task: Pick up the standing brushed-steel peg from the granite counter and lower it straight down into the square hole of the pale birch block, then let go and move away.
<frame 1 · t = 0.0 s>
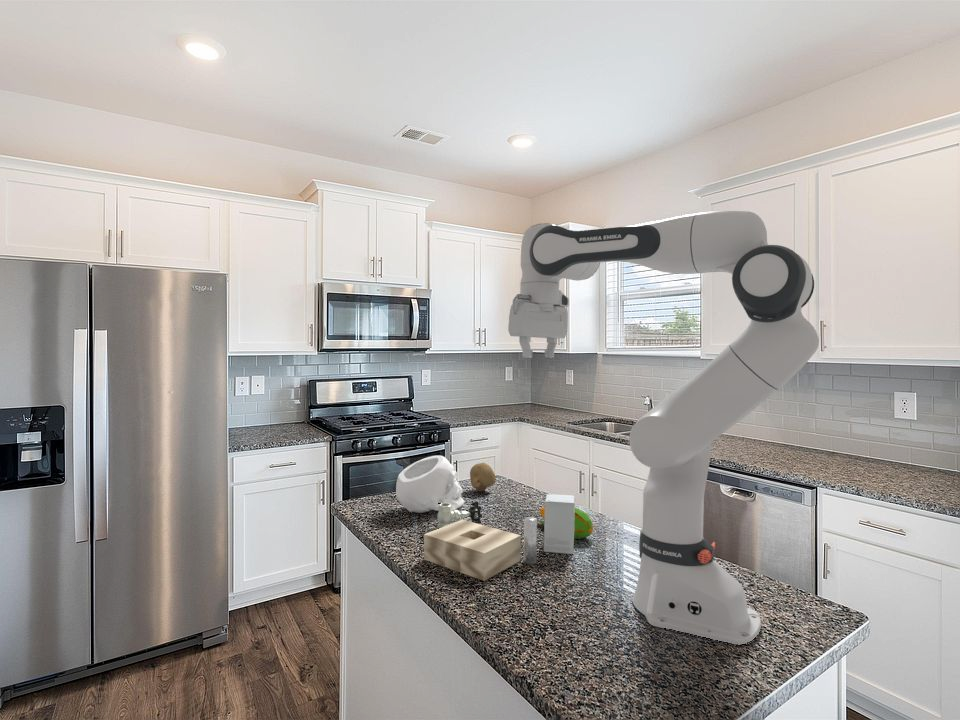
hand: (538, 357, 119), 48 cm above the counter, tool pointing down, fingers open, 8 cm apart
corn: (562, 532, 143), on the counter
hole block: (472, 560, 123), on the counter
valve: (457, 527, 147), on the counter
potato: (482, 491, 183), on the counter
supplement box: (559, 548, 131), on the counter
skull planter: (431, 510, 161), on the counter
steel peg: (530, 561, 123), on the counter
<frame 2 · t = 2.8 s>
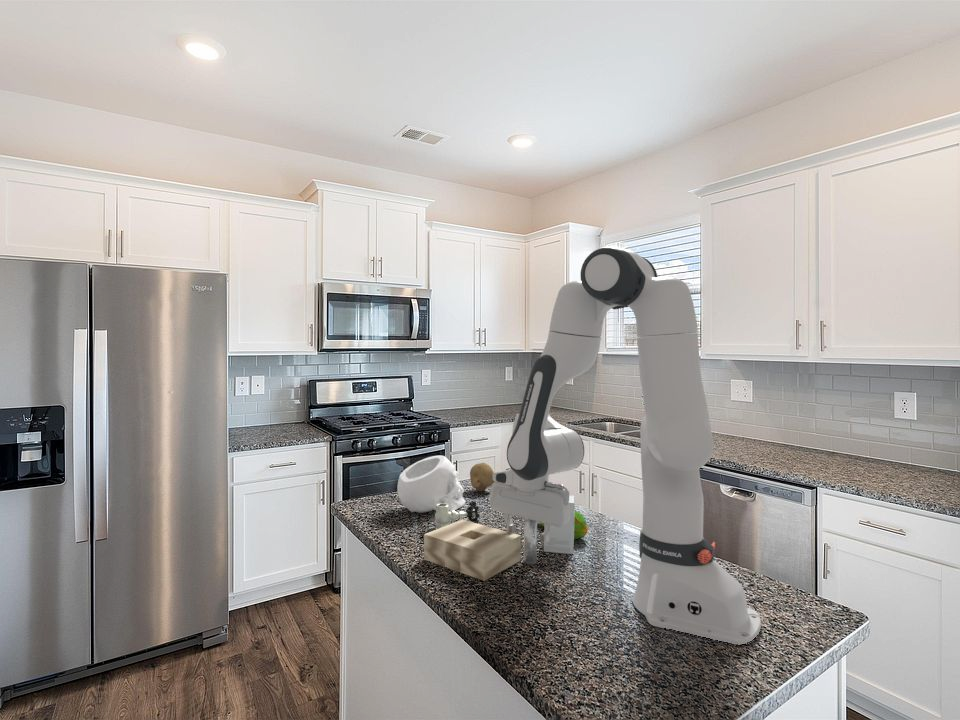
hand: (527, 536, 123), 6 cm above the counter, tool pointing down, fingers open, 8 cm apart
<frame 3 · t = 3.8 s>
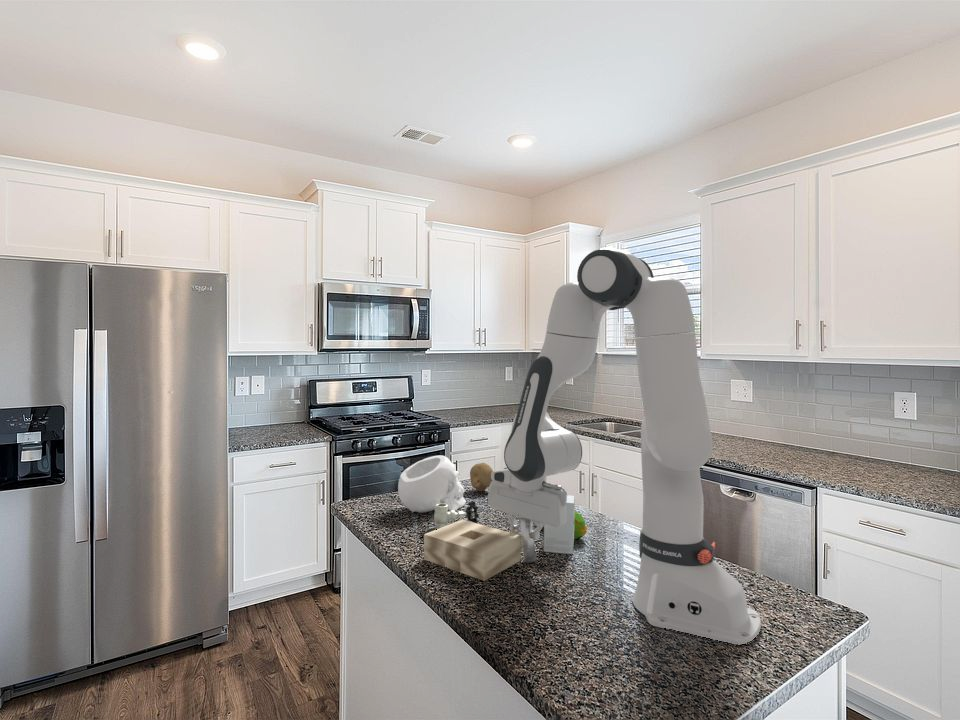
hand: (524, 535, 123), 6 cm above the counter, tool pointing down, fingers open, 4 cm apart
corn: (558, 533, 143), on the counter, touching supplement box
supplement box: (559, 548, 131), on the counter, touching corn
steel peg: (530, 560, 123), on the counter, tilted 10°, touching gripper
everything else where it was.
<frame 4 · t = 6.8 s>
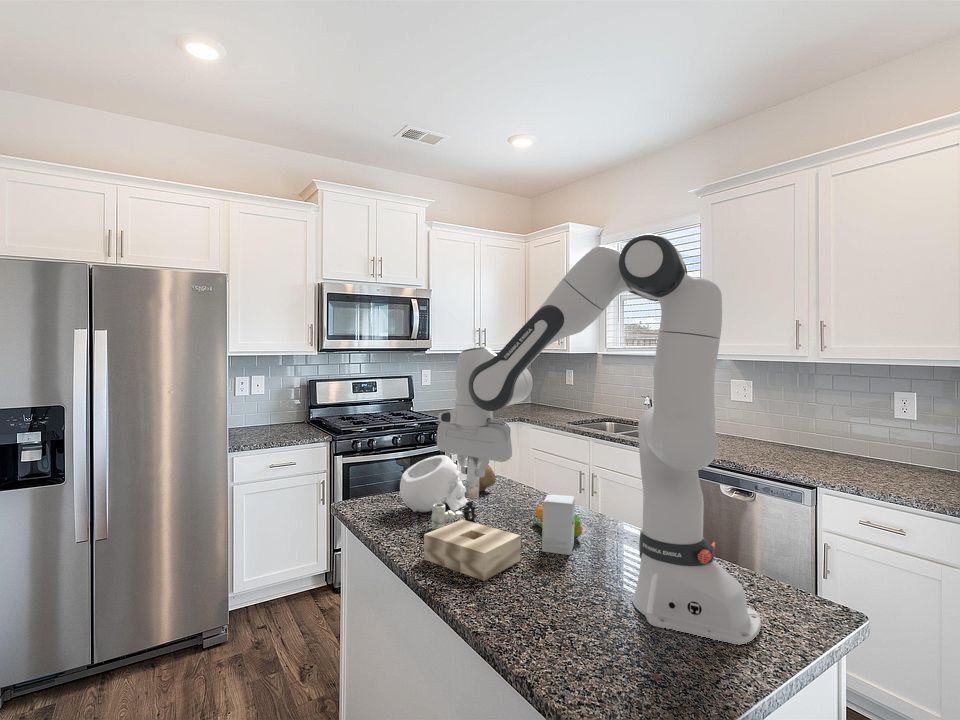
hand: (472, 475, 123), 20 cm above the counter, tool pointing down, fingers closed on steel peg, 3 cm apart
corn: (555, 533, 143), on the counter
supplement box: (558, 549, 131), on the counter
steel peg: (472, 496, 123), point 15 cm above the counter, touching gripper
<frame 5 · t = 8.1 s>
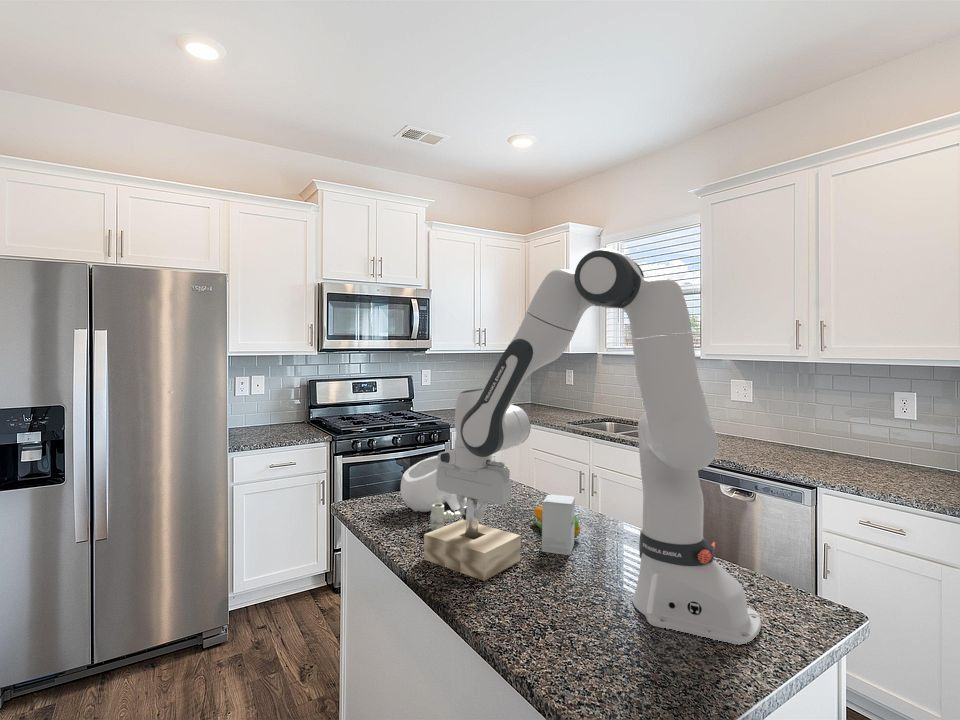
hand: (472, 515, 123), 11 cm above the counter, tool pointing down, fingers closed on steel peg, 3 cm apart
steel peg: (471, 537, 123), point 5 cm above the counter, touching gripper
when the fingers open (8 cm above the counter, at t = 9.3 s): steel peg drops 2 cm, resting in hole block.
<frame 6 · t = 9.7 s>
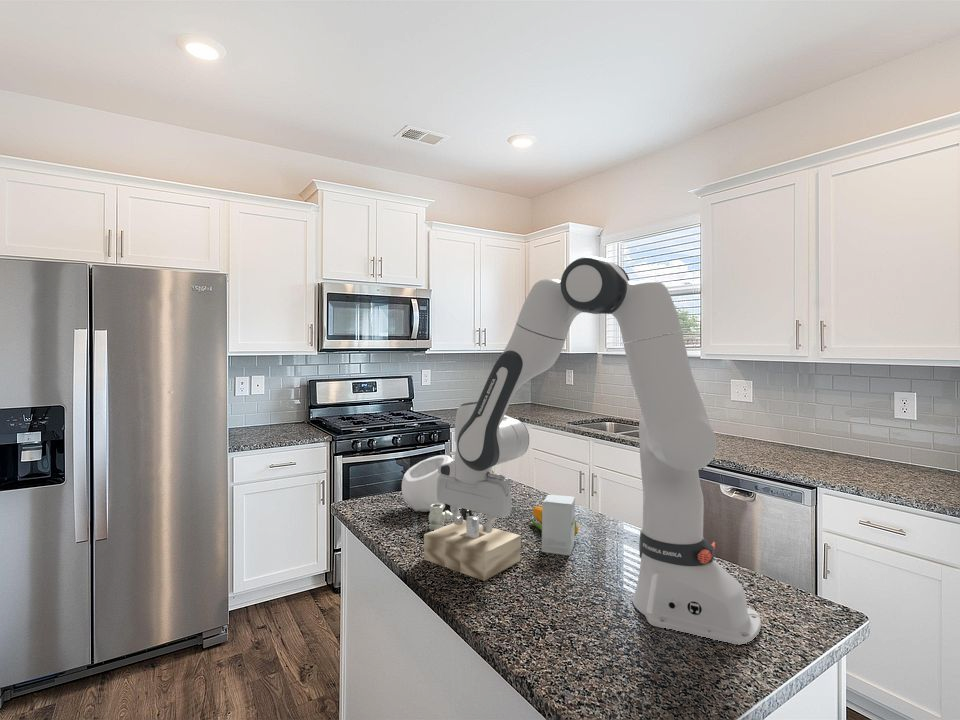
hand: (472, 528, 123), 8 cm above the counter, tool pointing down, fingers open, 7 cm apart
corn: (551, 533, 143), on the counter, touching supplement box
supplement box: (558, 549, 131), on the counter, touching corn
steel peg: (472, 560, 123), resting in hole block
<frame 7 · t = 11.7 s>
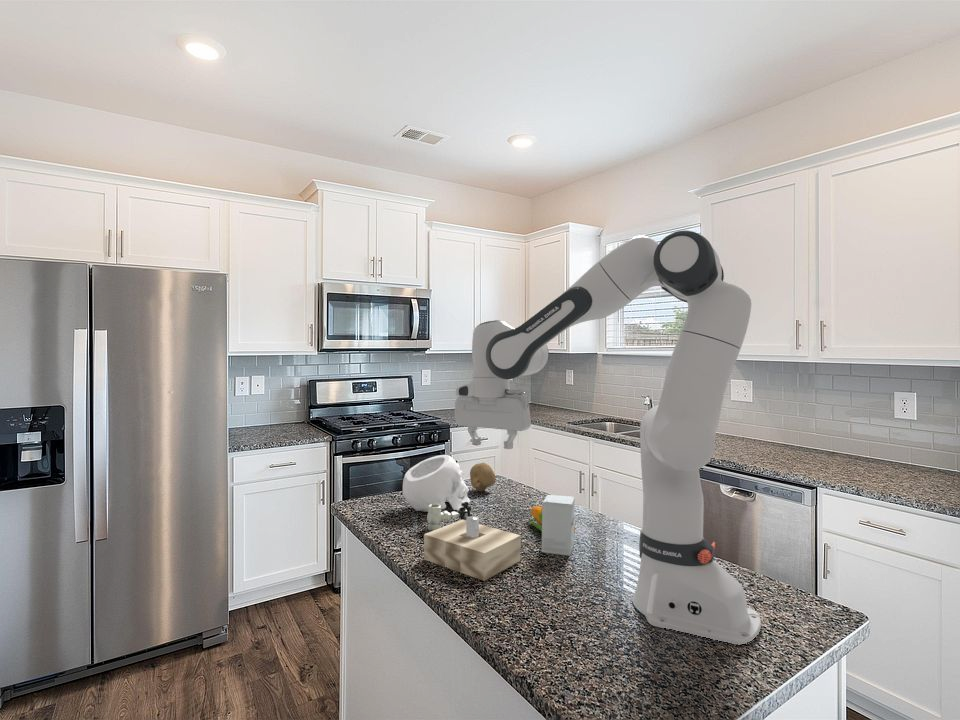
hand: (492, 446, 125), 26 cm above the counter, tool pointing down, fingers open, 8 cm apart
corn: (549, 533, 143), on the counter
supplement box: (558, 549, 131), on the counter
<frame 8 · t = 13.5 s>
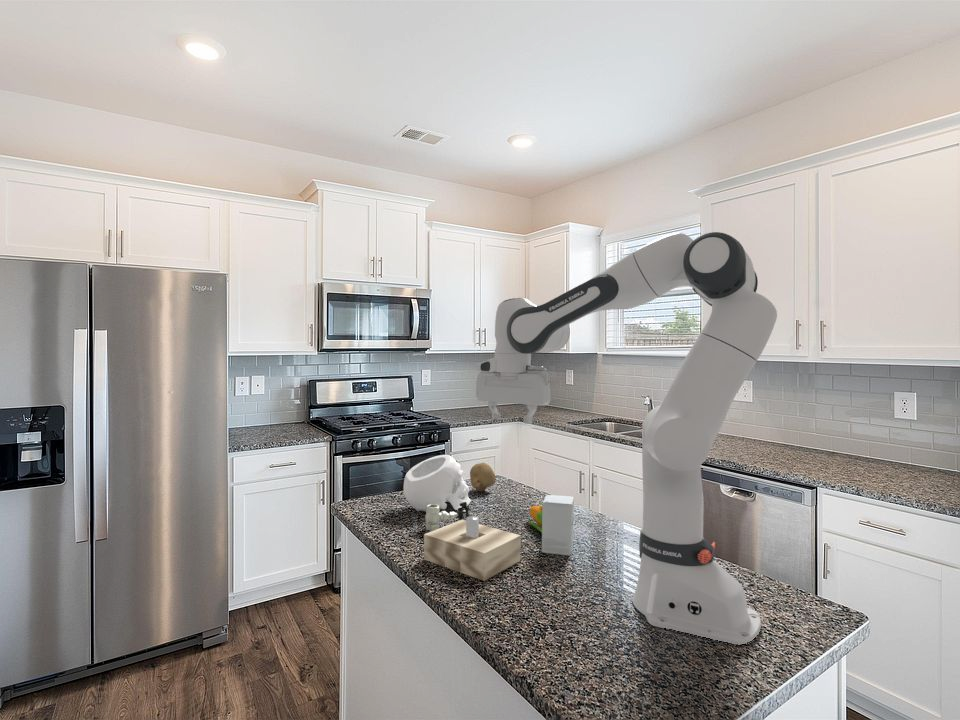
hand: (511, 421, 128), 32 cm above the counter, tool pointing down, fingers open, 8 cm apart
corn: (547, 532, 143), on the counter, touching supplement box
supplement box: (557, 549, 131), on the counter, touching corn
at the end: steel peg 0.1 cm off-centre on the hole block, point 0.0 cm above the hole block's base; steel peg tilted 0°; the gripper is holding nothing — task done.
